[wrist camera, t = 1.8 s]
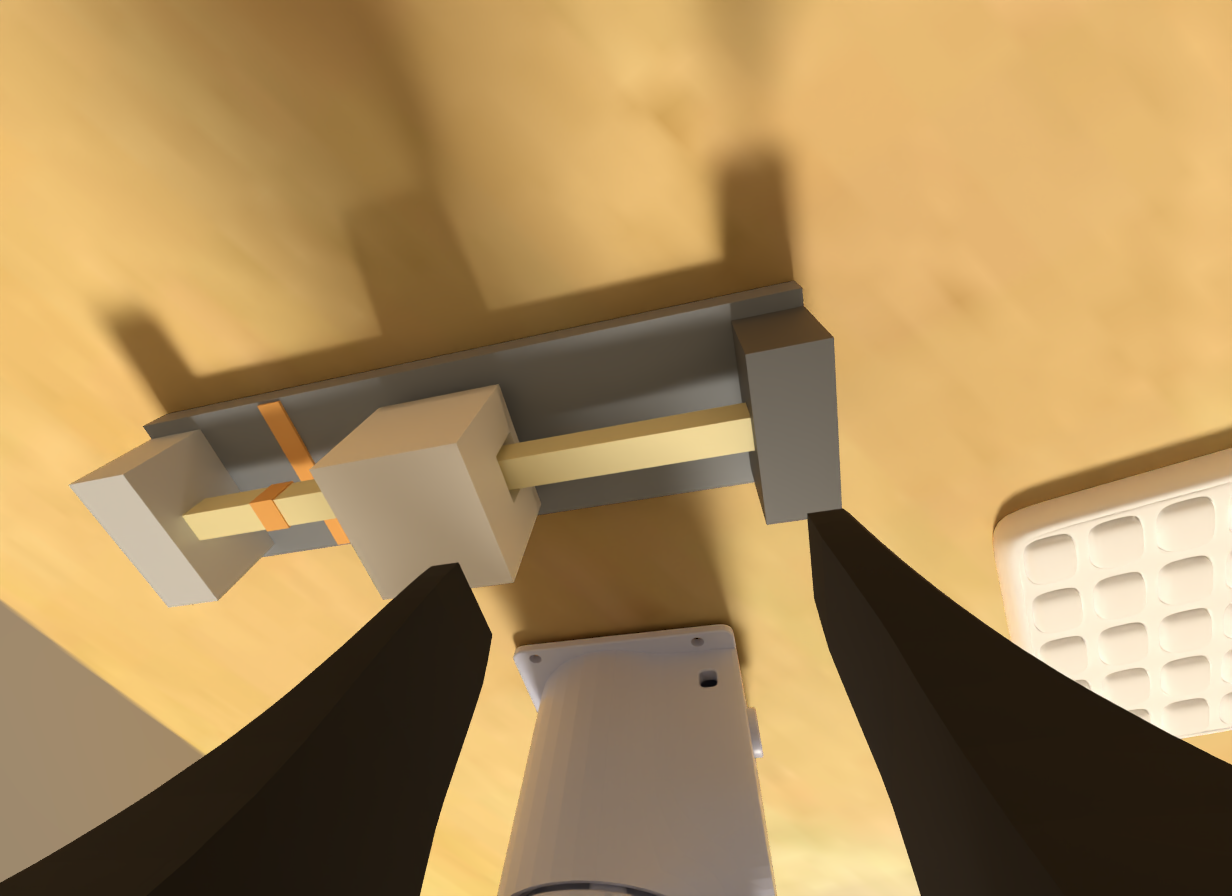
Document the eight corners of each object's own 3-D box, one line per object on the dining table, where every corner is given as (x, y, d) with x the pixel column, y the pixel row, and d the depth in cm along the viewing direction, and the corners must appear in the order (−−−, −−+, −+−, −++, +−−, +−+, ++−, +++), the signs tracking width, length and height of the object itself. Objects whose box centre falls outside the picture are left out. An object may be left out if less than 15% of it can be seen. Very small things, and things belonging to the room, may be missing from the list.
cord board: (794, 280, 16) (833, 316, 12) (808, 457, 18) (842, 529, 15) (166, 414, 19) (57, 471, 16) (254, 545, 22) (176, 618, 19)
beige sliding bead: (498, 383, 16) (456, 443, 13) (541, 504, 18) (513, 582, 15) (379, 407, 17) (309, 469, 13) (432, 521, 19) (382, 599, 15)
